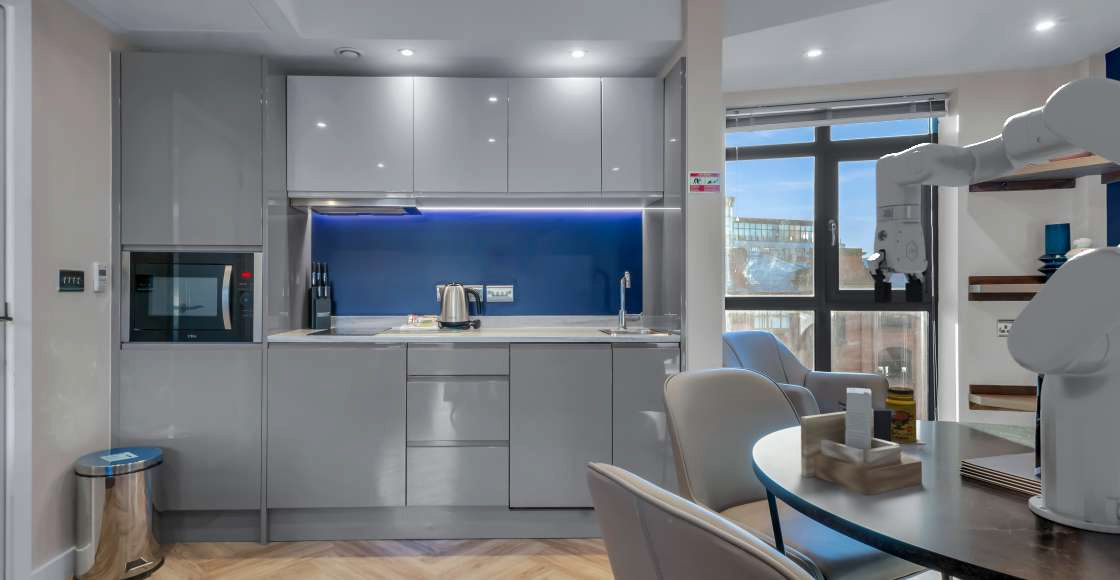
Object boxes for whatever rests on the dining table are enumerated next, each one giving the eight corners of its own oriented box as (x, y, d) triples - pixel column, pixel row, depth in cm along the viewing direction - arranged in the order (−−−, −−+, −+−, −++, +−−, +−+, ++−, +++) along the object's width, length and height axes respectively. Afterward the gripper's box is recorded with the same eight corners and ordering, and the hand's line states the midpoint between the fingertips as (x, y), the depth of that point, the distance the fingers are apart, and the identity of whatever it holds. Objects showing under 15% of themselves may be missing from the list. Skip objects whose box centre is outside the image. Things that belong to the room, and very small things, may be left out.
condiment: (892, 444, 128) (891, 390, 128) (874, 434, 136) (874, 384, 136) (926, 444, 127) (926, 391, 127) (906, 435, 135) (906, 384, 135)
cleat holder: (929, 481, 102) (928, 420, 102) (858, 497, 95) (858, 431, 95) (860, 460, 115) (860, 406, 115) (793, 472, 108) (793, 415, 108)
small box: (894, 461, 114) (893, 409, 114) (861, 461, 114) (861, 410, 115) (867, 447, 125) (866, 399, 125) (837, 447, 125) (836, 400, 125)
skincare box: (845, 449, 109) (844, 386, 109) (871, 452, 107) (871, 388, 107) (844, 458, 103) (844, 391, 104) (872, 461, 101) (872, 393, 101)
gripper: (888, 212, 106) (889, 303, 106) (943, 216, 114) (944, 302, 114) (851, 217, 113) (852, 303, 113) (906, 221, 120) (907, 301, 120)
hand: (898, 302), depth 113 cm, fingers open, 9 cm apart
